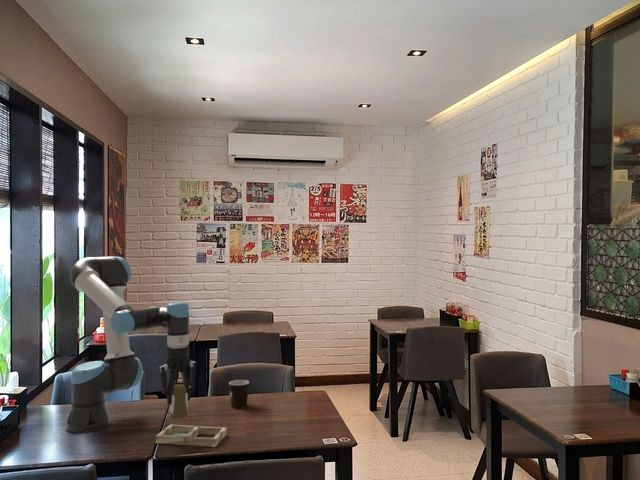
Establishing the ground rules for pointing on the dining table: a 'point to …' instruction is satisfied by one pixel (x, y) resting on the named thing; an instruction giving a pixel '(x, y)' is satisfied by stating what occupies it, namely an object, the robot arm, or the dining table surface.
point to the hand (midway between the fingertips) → (178, 411)
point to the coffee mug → (239, 393)
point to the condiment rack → (191, 435)
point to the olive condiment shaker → (179, 402)
